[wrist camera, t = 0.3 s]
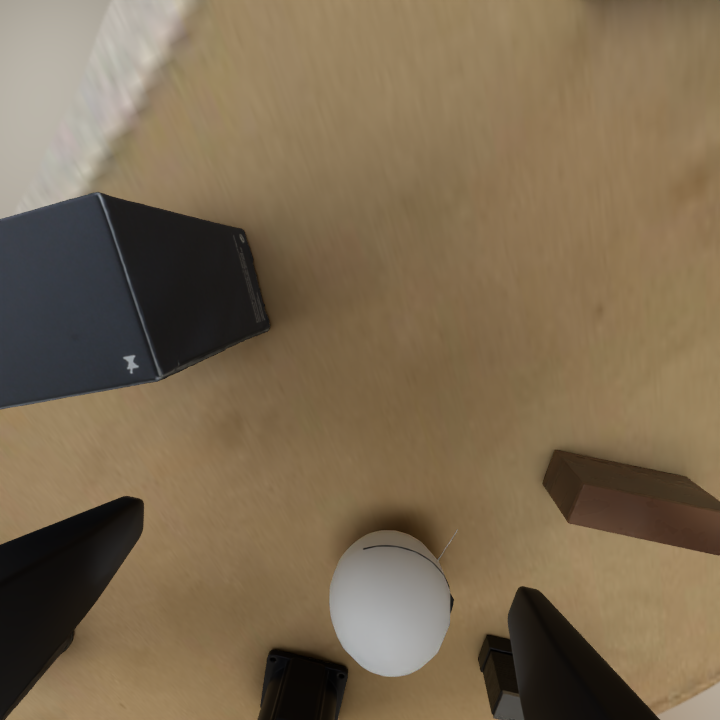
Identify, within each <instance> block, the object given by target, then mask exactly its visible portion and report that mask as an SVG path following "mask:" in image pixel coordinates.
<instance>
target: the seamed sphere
mask: <svg viewBox="0 0 720 720" xmlns="http://www.w3.org/2000/svg"><path fill="white" fill-rule="evenodd" d="M456 532H457V531H456ZM455 534H456V533H455ZM455 534H454V536H455ZM454 536H453V537H454ZM453 537H452V539H453ZM452 539H451V540H452ZM451 540H450V542H451ZM450 542H449V543H450ZM449 543H448V545H449ZM448 545H447V546H448ZM447 546H446V548H447ZM446 548H445V549H446ZM445 549H444V551H445ZM444 551H443V553H444ZM443 553H442V554H443ZM442 554H441V556H442ZM441 556H440V557H441ZM440 557H439V558H438V560H439V559H440ZM438 560H437V559H436V557H435V556H434V555H433V554H432V553H431V552H430V551H429V550H428V548H427V547H426V546H425V545H424V544H423V543H422V542H421V541H419V540H418V539H416V538H414V537H413V536H411V535H409V534H406V533H402V532H399V531H395V530H380V531H376V532H372V533H368V534H366V535H365V536H363V537H361V538H360V539H358V540H357V541H355V542H354V543H353V544H352V545H351V546H350V547H349V548H348V549H347V550H346V552H345V553H344V554H343V555H342V557H341V558H340V559H339V562H338V564H337V567H336V569H335V572H334V575H333V578H332V581H331V585H330V603H329V605H330V614H331V620H332V623H333V626H334V629H335V632H336V635H337V637H338V639H339V641H340V643H341V645H342V647H343V648H344V649H345V650H346V651H347V652H348V653H349V654H350V655H351V656H352V658H353V659H354V660H355V661H356V662H357V663H358V664H359V665H360V666H361V667H363V668H365V669H367V670H368V671H370V672H372V673H375V674H378V675H382V676H390V677H398V676H404V675H409V674H411V673H413V672H415V671H417V670H419V669H420V668H421V667H422V666H424V665H425V664H426V663H428V662H429V661H430V660H431V659H432V658H433V657H434V656H435V655H436V654H437V653H438V651H439V649H440V646H441V644H442V642H443V639H444V637H445V634H446V632H447V630H448V627H449V625H450V613H451V610H452V607H453V601H454V599H453V597H452V595H451V594H450V589H449V585H448V582H447V580H446V578H445V575H444V572H443V570H442V567H441V565H440V563H439V561H438Z"/></svg>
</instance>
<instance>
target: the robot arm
mask: <svg viewBox="0 0 720 720" xmlns="http://www.w3.org/2000/svg"><path fill="white" fill-rule="evenodd" d="M143 521H144V503H143V501H142V500H141V499H139V498H134V497H130V496H124V497H121V498H118V499H116V500H113V501H111V502H108V503H105V504H103V505H100V506H98V507H95V508H93V509H90V510H88V511H85V512H83V513H80V514H77V515H75V516H72V517H70V518H67V519H65V520H62V521H60V522H57V523H55V524H52V525H49V526H47V527H44V528H42V529H39V530H37V531H34V532H32V533H29V534H27V535H24V536H21V537H19V538H16V539H14V540H11V541H9V542H6V543H4V544H1V545H0V720H1V719H2V718H3V717H4V716H5V714H6V713H7V712H8V711H9V709H10V708H11V707H12V706H13V704H14V703H15V702H16V701H17V699H18V698H19V697H20V696H21V695H22V693H23V692H24V691H25V690H26V688H27V687H28V686H29V685H30V683H31V682H32V681H33V680H34V678H35V677H36V676H37V675H38V673H39V672H40V671H41V670H42V669H43V667H44V666H45V665H46V664H47V662H48V661H49V660H50V659H51V657H52V656H53V655H54V654H55V652H56V651H57V650H58V649H59V647H60V646H61V645H62V644H63V643H64V641H65V640H66V639H67V638H68V636H69V635H70V634H71V633H72V631H73V630H74V629H75V628H76V626H77V625H78V624H79V623H80V621H81V620H82V619H83V618H84V617H85V615H86V614H87V613H88V611H89V610H90V609H91V608H92V606H93V605H94V604H95V602H96V601H97V600H98V598H99V597H100V595H101V594H102V593H103V591H104V590H105V588H106V587H107V585H108V584H109V582H110V581H111V579H112V578H113V576H114V575H115V573H116V572H117V570H118V569H119V567H120V566H121V565H122V563H123V562H124V560H125V559H126V557H127V556H128V554H129V553H130V551H131V550H132V548H133V547H134V545H135V544H136V542H137V541H138V539H139V538H140V536H141V534H142V531H143ZM508 628H509V634H510V640H511V646H512V653H513V659H514V665H515V671H516V678H517V684H518V690H519V696H520V701H521V707H522V711H523V716H524V720H660V719H659V718H658V717H657V716H656V715H655V714H654V713H653V712H652V711H651V709H650V708H649V707H648V706H647V705H646V704H645V703H644V702H643V701H642V700H641V699H640V698H639V697H638V696H637V694H636V693H635V692H634V691H633V690H632V689H631V688H630V687H629V686H628V685H627V684H626V683H625V682H624V681H623V679H622V678H621V677H620V676H619V675H618V674H617V673H616V672H615V671H614V670H613V669H612V668H611V667H610V666H609V664H608V663H607V662H606V661H605V660H604V659H603V658H602V657H601V656H600V655H599V654H598V653H597V652H596V651H595V649H594V648H593V647H592V646H591V645H590V644H589V643H588V642H587V641H586V640H585V639H584V638H583V637H582V636H581V634H580V633H579V632H578V631H577V630H576V629H575V628H574V627H573V626H572V625H571V624H570V623H569V622H568V621H567V619H566V618H565V617H564V616H563V615H562V614H561V613H560V612H559V611H558V610H557V609H556V608H555V607H554V606H553V604H552V603H551V602H550V601H549V600H548V599H547V598H546V597H545V596H544V595H543V594H542V593H541V592H540V591H539V590H536V589H533V588H528V587H524V586H522V587H519V588H518V590H517V592H516V595H515V597H514V600H513V602H512V605H511V608H510V610H509V613H508ZM347 678H348V669H347V668H346V667H344V666H340V665H336V664H332V663H328V662H324V661H320V660H315V659H311V658H307V657H303V656H299V655H295V654H291V653H286V652H282V651H278V650H271V651H270V652H269V655H268V658H267V664H266V671H265V677H264V684H263V691H262V698H261V705H260V707H261V710H260V713H259V716H258V720H338V716H339V711H340V707H341V703H342V699H343V694H344V690H345V686H346V682H347Z"/></svg>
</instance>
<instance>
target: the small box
mask: <svg viewBox="0 0 720 720" xmlns="http://www.w3.org/2000/svg"><path fill="white" fill-rule="evenodd" d="M264 307H265V305H264V303H263V300H262V297H261V293H260V288H259V286H258V281H257V275H256V273H255V270H254V265H253V257H252V254H251V251H250V248H249V245H248V242H247V240H246V236H245V232H244V230H243V229H240V228H235V227H231V226H227V225H223V224H219V223H214V222H210V221H207V220H202V219H198V218H195V217H190V216H186V215H183V214H178V213H174V212H171V211H167V210H163V209H159V208H155V207H151V206H147V205H144V204H140V203H135V202H131V201H126V200H123V199H118V198H115V197H112V196H109V195H106V194H103V193H100V192H96V193H91V194H88V195H84V196H81V197H77V198H74V199H69V200H66V201H62V202H59V203H56V204H52V205H49V206H45V207H42V208H38V209H35V210H31V211H28V212H24V213H21V214H17V215H14V216H10V217H6V218H3V219H0V409H5V408H10V407H17V406H23V405H29V404H34V403H39V402H46V401H50V400H56V399H61V398H66V397H72V396H78V395H84V394H89V393H95V392H102V391H107V390H113V389H118V388H123V387H130V386H133V385H140V384H145V383H151V382H157V381H160V380H162V379H165V378H167V377H168V376H170V375H173V374H175V373H178V372H180V371H182V370H184V369H186V368H188V367H189V366H193V365H195V364H197V363H198V362H201V361H203V360H204V359H207V358H209V357H211V356H214V355H216V354H218V353H220V352H222V351H224V350H225V349H227V348H229V347H232V346H234V345H236V344H238V343H240V342H243V341H245V340H247V339H250V338H252V337H254V336H258V335H260V334H262V333H265V332H268V330H269V329H270V324H269V319H268V316H267V314H266V312H265V308H264Z"/></svg>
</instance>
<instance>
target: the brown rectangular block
mask: <svg viewBox="0 0 720 720" xmlns="http://www.w3.org/2000/svg"><path fill="white" fill-rule="evenodd" d="M543 485H544V487H545V489H546V490H547V492H548V493H549V495H550V496H551V498H552V499H553V501H554V502H555V504H556V505H557V507H558V508H559V510H560V511H561V513H562V514H563V516H564V517H565V519H566V520H567V522H568V523H570V524H575V525H579V526H584V527H589V528H593V529H598V530H603V531H607V532H612V533H617V534H621V535H626V536H631V537H635V538H640V539H644V540H649V541H654V542H658V543H663V544H668V545H672V546H677V547H682V548H686V549H691V550H696V551H700V552H705V553H709V554H714V555H720V501H718V500H717V499H716V498H714V497H713V496H712V495H710V494H709V493H707V492H706V491H705V490H703V489H702V488H701V487H699V486H698V485H697V484H695V483H694V482H693V481H691V480H690V479H688V478H687V477H684V476H679V475H674V474H670V473H665V472H660V471H655V470H650V469H645V468H641V467H636V466H631V465H626V464H621V463H616V462H612V461H607V460H602V459H597V458H592V457H587V456H582V455H578V454H573V453H568V452H563V451H558V450H555V451H554V454H553V456H552V459H551V462H550V465H549V467H548V470H547V473H546V475H545V478H544V481H543Z"/></svg>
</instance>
